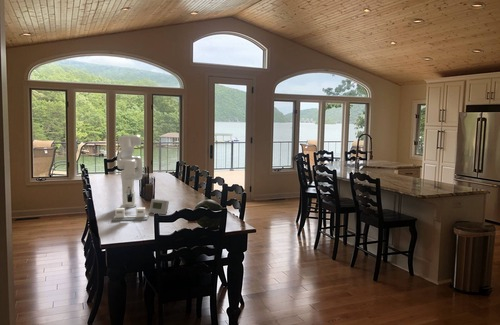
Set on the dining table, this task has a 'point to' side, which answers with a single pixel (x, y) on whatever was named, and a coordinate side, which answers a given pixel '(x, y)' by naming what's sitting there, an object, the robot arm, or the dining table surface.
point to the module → (132, 198)
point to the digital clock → (159, 206)
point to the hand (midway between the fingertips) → (130, 200)
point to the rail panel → (122, 217)
